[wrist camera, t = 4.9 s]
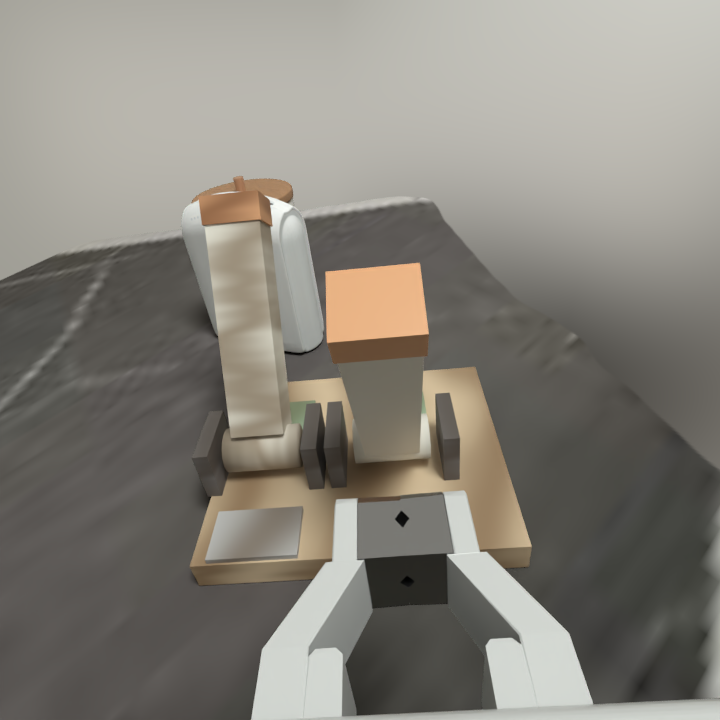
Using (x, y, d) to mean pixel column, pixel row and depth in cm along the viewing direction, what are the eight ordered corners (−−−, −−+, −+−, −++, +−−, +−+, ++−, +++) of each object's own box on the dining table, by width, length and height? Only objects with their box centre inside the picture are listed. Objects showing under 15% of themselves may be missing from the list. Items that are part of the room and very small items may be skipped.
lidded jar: (276, 235, 64) (260, 158, 59) (321, 258, 56) (307, 172, 51) (197, 262, 59) (171, 181, 54) (234, 291, 52) (208, 200, 46)
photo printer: (208, 340, 44) (162, 200, 37) (238, 316, 47) (201, 182, 40) (306, 361, 40) (275, 207, 33) (332, 333, 43) (309, 187, 36)
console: (195, 585, 25) (52, 309, 16) (248, 403, 36) (181, 183, 27) (528, 566, 24) (574, 260, 15) (474, 385, 35) (482, 150, 26)
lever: (358, 470, 28) (310, 344, 15) (356, 425, 29) (310, 273, 16) (430, 465, 28) (446, 332, 15) (425, 420, 29) (435, 261, 16)
